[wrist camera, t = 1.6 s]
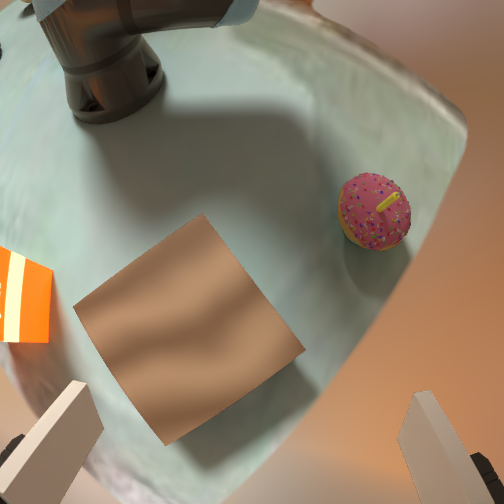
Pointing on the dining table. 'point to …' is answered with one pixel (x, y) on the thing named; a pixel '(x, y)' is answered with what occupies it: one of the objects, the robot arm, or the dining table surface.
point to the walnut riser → (186, 330)
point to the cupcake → (373, 212)
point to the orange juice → (23, 299)
